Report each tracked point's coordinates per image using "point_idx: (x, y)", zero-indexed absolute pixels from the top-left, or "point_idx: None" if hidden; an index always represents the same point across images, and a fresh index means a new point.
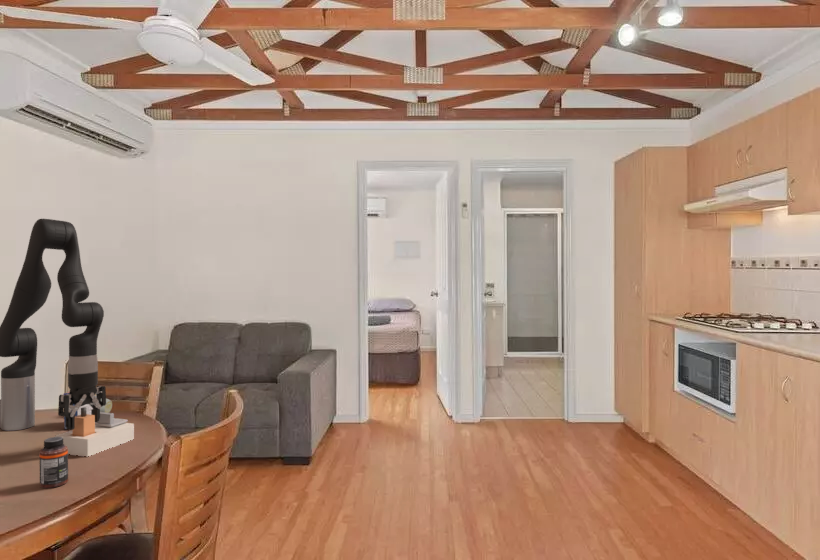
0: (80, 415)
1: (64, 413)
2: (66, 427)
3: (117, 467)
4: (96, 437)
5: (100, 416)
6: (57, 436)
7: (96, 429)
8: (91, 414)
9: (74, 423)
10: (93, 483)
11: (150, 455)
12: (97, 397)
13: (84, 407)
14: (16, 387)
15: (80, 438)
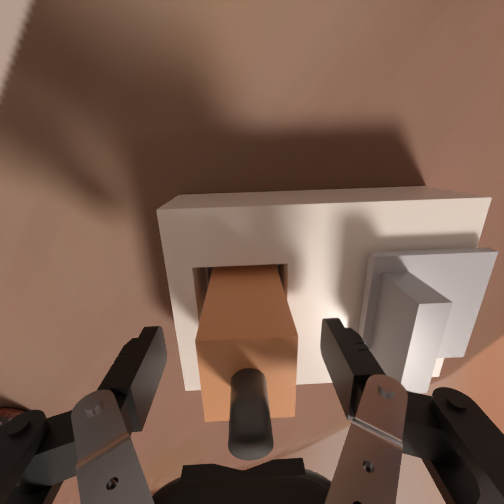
0: (253, 351)
1: (15, 493)
2: (130, 345)
3: (173, 455)
4: None
5: (400, 317)
6: (159, 227)
7: (318, 309)
8: (338, 345)
9: (156, 387)
10: (77, 481)
11: (275, 457)
12: (483, 490)
13: (268, 437)
14: None
15: (181, 358)
